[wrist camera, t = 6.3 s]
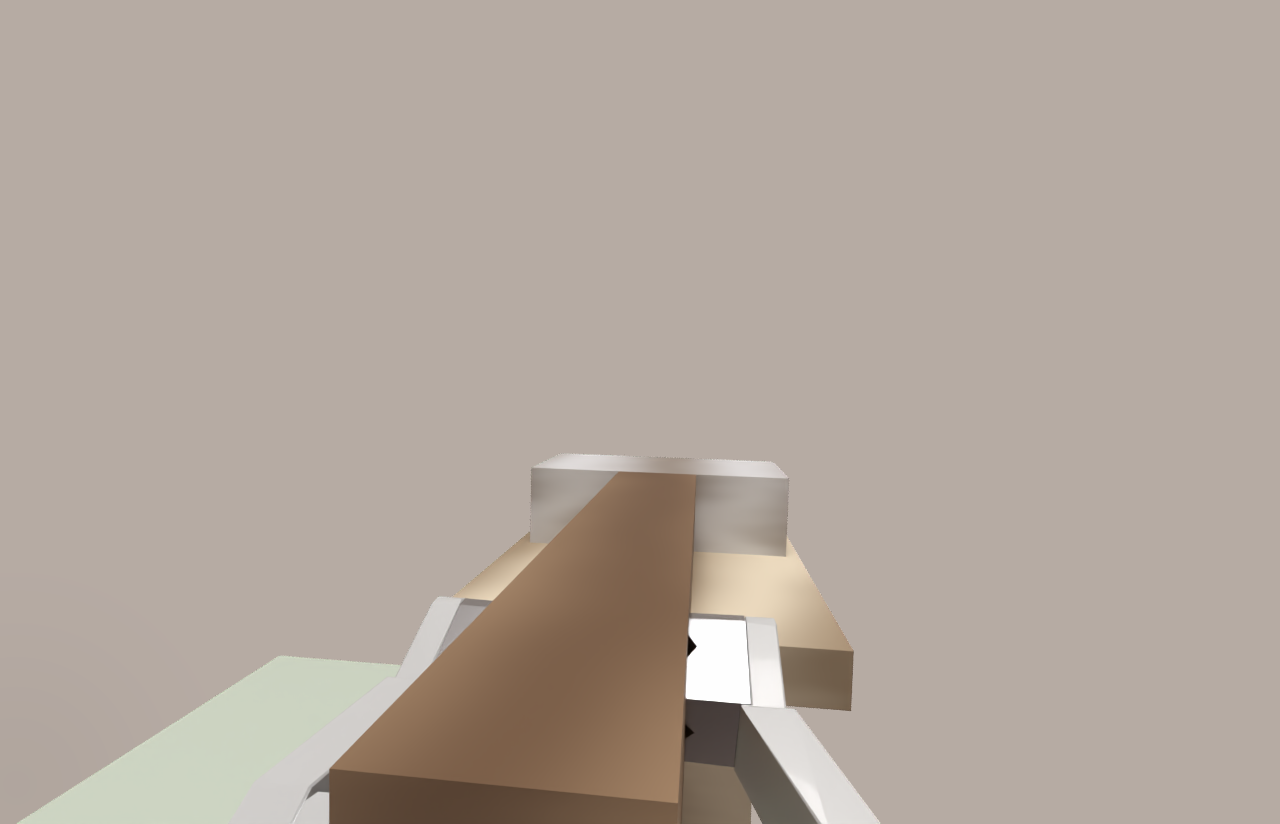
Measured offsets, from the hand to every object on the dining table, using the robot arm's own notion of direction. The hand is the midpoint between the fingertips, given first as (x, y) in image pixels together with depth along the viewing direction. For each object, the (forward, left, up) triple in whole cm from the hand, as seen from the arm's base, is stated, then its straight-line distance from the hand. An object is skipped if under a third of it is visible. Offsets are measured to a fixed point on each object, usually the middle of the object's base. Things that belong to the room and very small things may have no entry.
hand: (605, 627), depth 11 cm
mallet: (0, +6, -2) cm, 6 cm away
